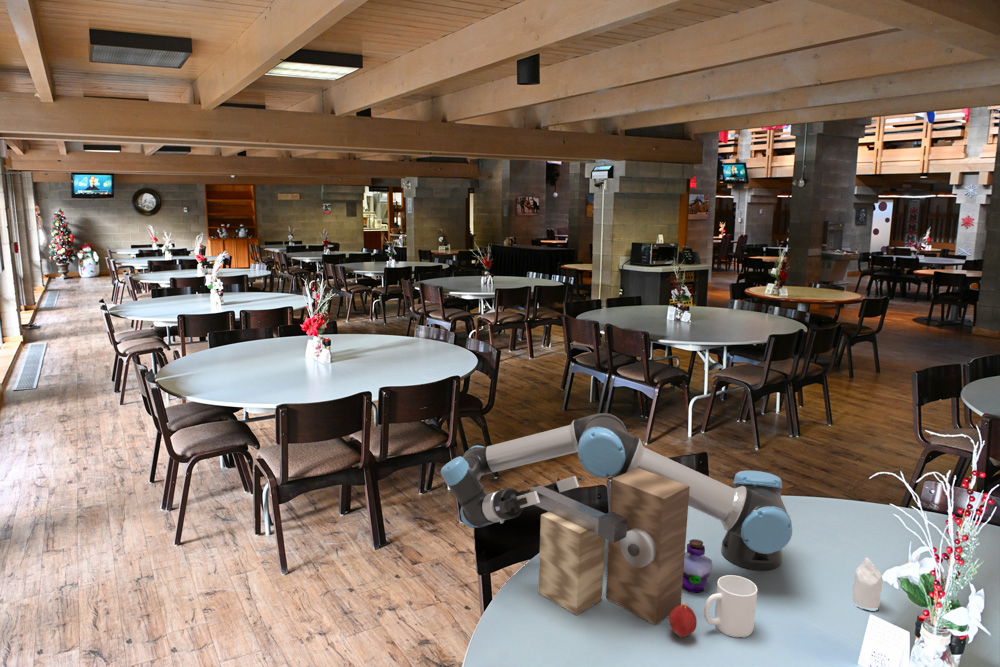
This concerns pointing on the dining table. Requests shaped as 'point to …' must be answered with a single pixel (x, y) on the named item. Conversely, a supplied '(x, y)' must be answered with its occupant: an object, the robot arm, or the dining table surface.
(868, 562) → the beige pointed piece
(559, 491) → the robot arm
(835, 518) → the dining table surface
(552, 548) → the oak block
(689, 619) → the onion
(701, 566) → the potion bottle
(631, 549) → the post
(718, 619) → the cup
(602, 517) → the grey long bar
